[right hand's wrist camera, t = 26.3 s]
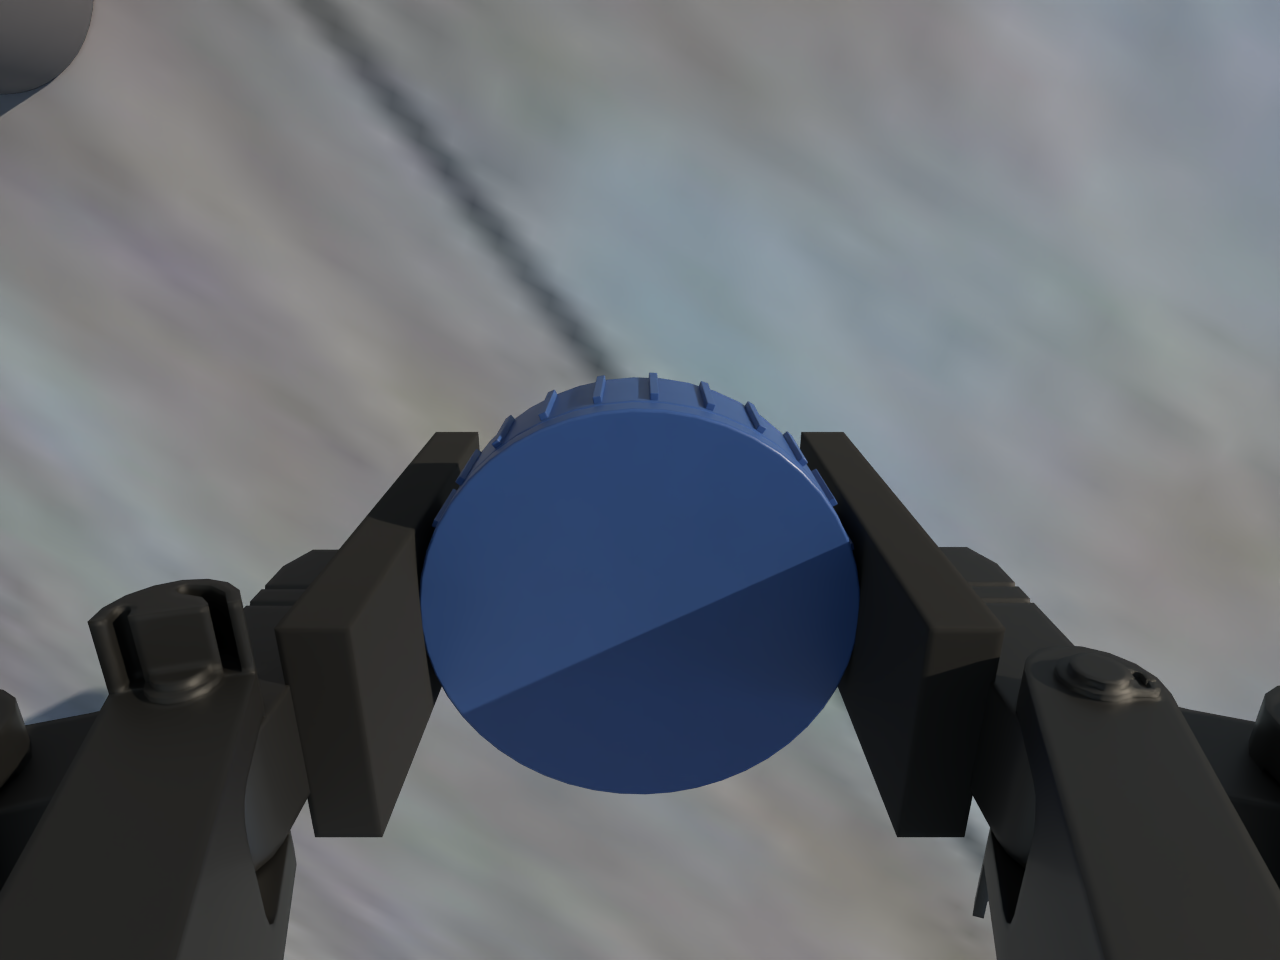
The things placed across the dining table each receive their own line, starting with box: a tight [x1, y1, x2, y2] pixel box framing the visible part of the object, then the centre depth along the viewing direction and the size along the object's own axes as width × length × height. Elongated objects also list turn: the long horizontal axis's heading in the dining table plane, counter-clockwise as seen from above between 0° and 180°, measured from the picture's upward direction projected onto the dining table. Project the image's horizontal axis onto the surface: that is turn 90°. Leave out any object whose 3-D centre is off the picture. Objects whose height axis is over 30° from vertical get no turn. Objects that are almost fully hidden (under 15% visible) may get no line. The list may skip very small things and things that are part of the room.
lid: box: [419, 373, 860, 794], centre depth 11 cm, size 6×6×2 cm
